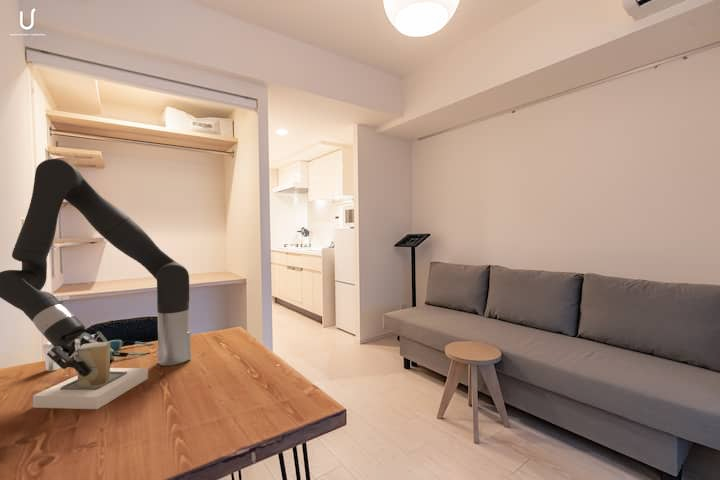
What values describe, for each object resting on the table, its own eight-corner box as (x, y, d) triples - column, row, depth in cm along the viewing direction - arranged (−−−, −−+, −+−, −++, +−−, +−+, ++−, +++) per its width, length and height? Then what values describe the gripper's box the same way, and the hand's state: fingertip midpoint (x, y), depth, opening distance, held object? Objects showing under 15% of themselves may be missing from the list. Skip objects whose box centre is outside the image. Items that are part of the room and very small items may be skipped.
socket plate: (94, 377, 96) (94, 366, 96) (147, 378, 95) (147, 367, 95) (33, 407, 80) (32, 394, 80) (97, 409, 78) (97, 395, 78)
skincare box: (76, 395, 84) (76, 348, 84) (82, 388, 88) (81, 343, 88) (107, 389, 87) (106, 344, 87) (111, 383, 91) (110, 340, 91)
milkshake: (52, 372, 100) (52, 341, 100) (39, 371, 101) (38, 340, 101) (68, 367, 105) (68, 336, 105) (55, 366, 106) (55, 335, 106)
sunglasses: (107, 350, 120) (109, 337, 121) (154, 349, 127) (156, 336, 127) (97, 363, 108) (99, 348, 108) (149, 361, 115) (151, 347, 115)
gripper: (40, 322, 81) (85, 370, 80) (91, 309, 95) (130, 349, 94) (21, 343, 81) (65, 390, 80) (75, 327, 95) (113, 367, 95)
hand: (100, 368), depth 87 cm, fingers closed on skincare box, 6 cm apart
